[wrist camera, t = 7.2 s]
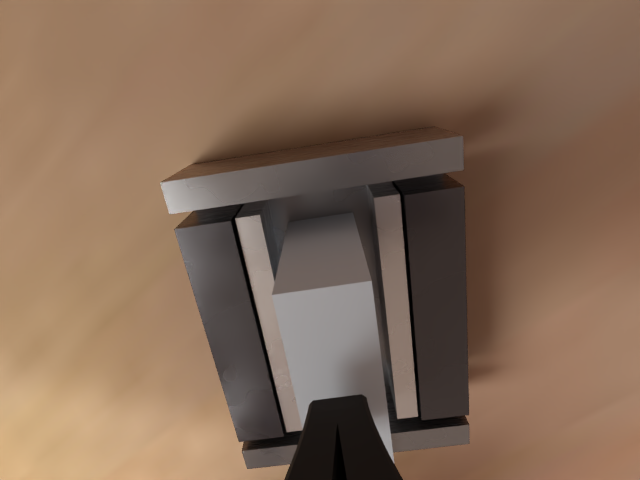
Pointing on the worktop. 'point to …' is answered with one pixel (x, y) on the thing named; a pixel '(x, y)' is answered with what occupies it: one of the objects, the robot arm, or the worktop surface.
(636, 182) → the worktop surface
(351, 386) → the panel
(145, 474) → the worktop surface
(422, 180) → the rack
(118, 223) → the worktop surface
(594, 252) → the worktop surface
